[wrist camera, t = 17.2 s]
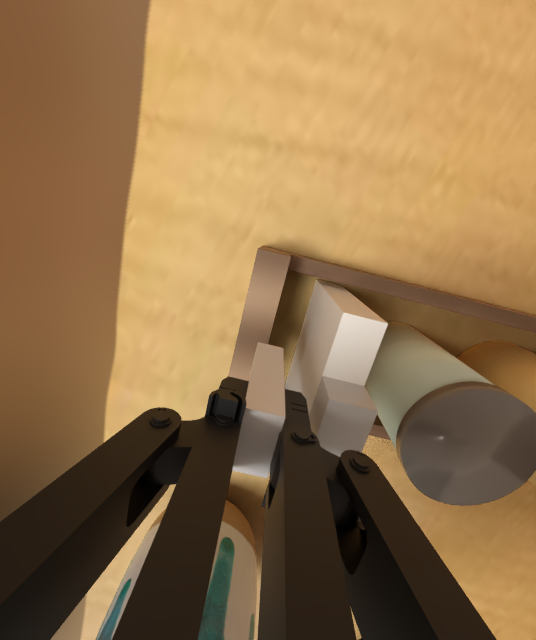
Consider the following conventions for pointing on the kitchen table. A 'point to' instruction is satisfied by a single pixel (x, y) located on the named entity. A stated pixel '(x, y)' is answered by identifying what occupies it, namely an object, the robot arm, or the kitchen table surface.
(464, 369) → the sage jar
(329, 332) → the plate
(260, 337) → the wooden spice rack
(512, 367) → the amber jar
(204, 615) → the vase
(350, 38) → the kitchen table surface
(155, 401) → the kitchen table surface
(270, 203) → the kitchen table surface
